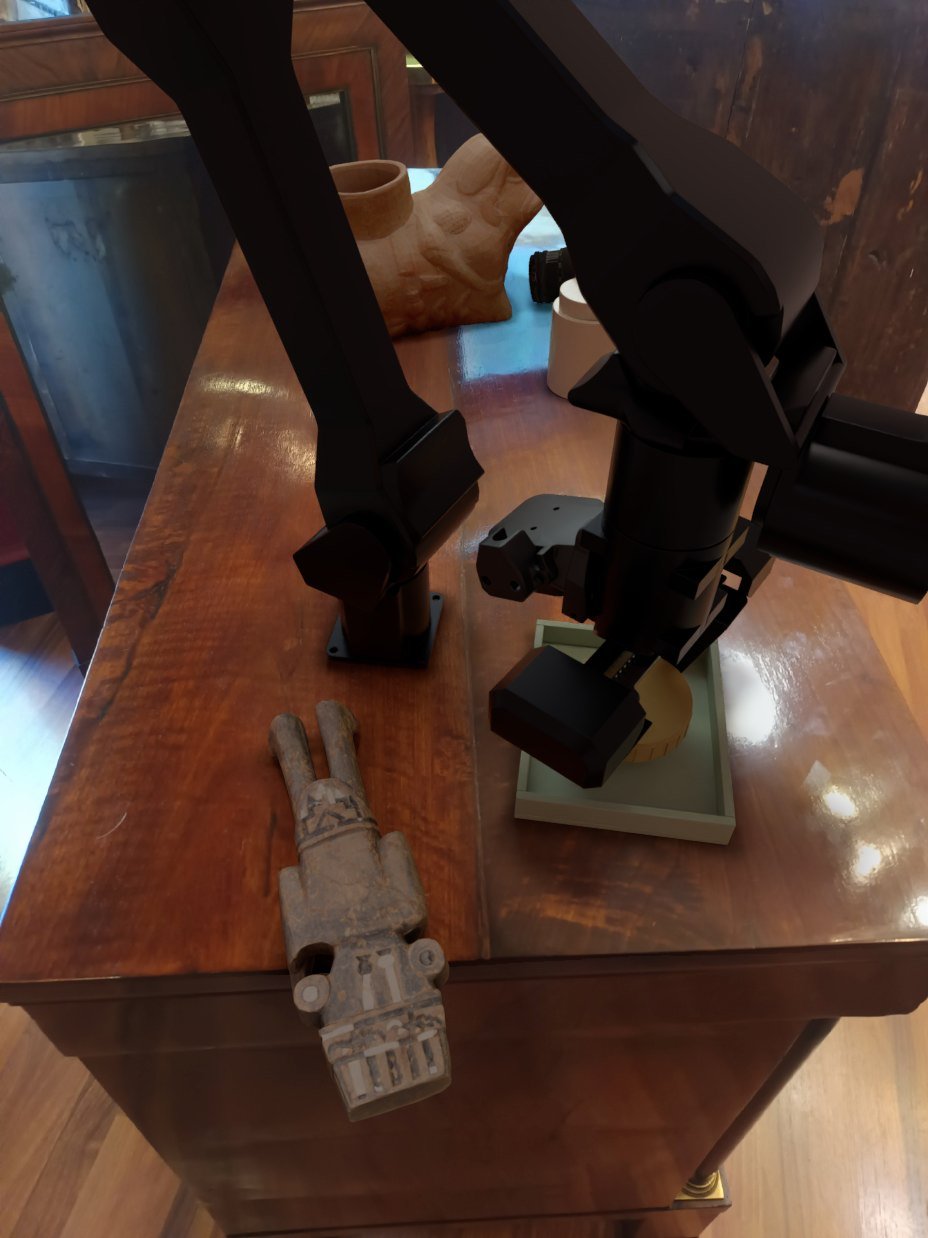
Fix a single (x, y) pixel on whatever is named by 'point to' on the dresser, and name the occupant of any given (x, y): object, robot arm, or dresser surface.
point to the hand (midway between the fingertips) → (621, 726)
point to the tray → (643, 765)
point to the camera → (549, 274)
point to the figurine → (358, 929)
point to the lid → (662, 711)
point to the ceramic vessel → (438, 237)
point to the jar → (573, 340)
